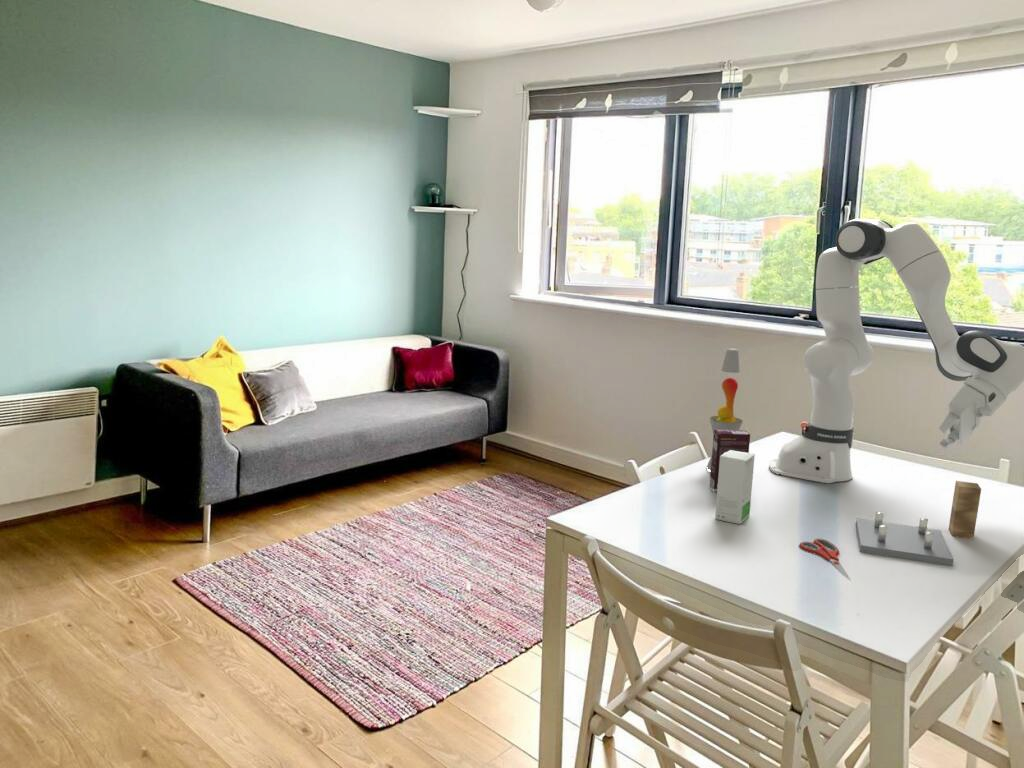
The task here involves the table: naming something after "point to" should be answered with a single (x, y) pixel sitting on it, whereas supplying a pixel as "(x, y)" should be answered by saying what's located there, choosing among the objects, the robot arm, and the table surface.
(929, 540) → the standoff pins
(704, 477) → the table surface
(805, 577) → the table surface
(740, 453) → the skincare box
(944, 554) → the plate
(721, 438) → the supplement box
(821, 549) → the scissors
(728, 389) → the lava lamp
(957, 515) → the oak block
